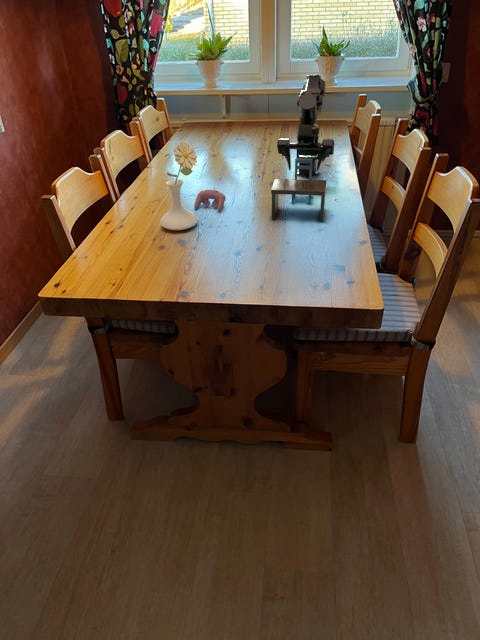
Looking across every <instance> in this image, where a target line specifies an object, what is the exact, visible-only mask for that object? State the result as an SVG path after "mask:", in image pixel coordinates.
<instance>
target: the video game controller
mask: <svg viewBox="0 0 480 640" xmlns="http://www.w3.org/2000/svg"><path fill="white" fill-rule="evenodd" d="M210 200H212V202H211V201H210ZM225 201H226V195H225V194H224V193H223V192H221V191H220V190H219V191H218V190H216V189H203V190H200V191H199V192H198V193H197V195H196V198H195V201H194V204H193V207H194V210H196V211H197V210H199V208H200V206H201V205H202V206H203V207H204V208H209V207H210V206H211V207H212V208H214V209H217V211H218V212H219V213H221V212H222V211H223V209H224V206H225Z"/></svg>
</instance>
